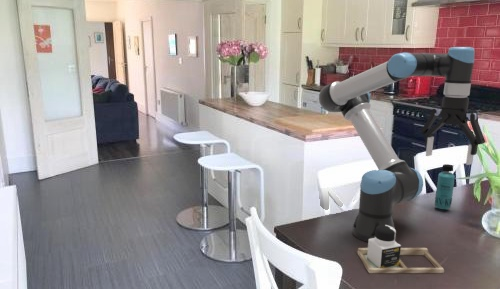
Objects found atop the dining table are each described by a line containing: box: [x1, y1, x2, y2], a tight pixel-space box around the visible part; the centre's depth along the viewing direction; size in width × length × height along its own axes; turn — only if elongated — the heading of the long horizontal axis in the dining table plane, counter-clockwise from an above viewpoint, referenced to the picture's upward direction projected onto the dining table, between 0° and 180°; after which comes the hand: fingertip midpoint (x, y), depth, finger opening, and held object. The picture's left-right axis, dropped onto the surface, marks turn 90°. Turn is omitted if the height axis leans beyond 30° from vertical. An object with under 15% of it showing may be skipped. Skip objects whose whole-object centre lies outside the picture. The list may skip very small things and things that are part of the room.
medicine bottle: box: [367, 225, 402, 268], centre depth 125 cm, size 7×7×12 cm
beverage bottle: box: [434, 163, 456, 210], centre depth 168 cm, size 6×7×20 cm
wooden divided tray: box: [357, 247, 445, 274], centre depth 127 cm, size 23×12×2 cm, turn 91°
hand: (448, 159), depth 133 cm, fingers open, 13 cm apart
